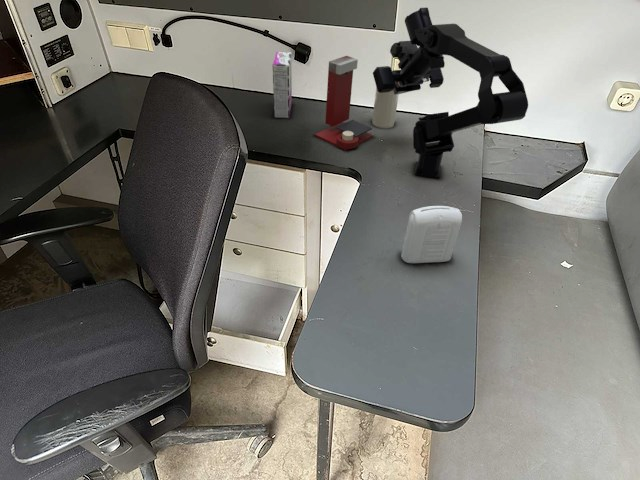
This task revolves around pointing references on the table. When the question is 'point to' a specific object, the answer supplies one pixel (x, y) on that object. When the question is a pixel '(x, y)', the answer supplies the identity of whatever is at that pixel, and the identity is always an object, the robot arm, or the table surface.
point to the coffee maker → (335, 137)
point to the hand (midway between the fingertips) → (395, 92)
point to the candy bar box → (282, 84)
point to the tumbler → (384, 109)
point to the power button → (347, 136)
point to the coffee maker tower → (342, 95)
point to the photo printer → (431, 234)
